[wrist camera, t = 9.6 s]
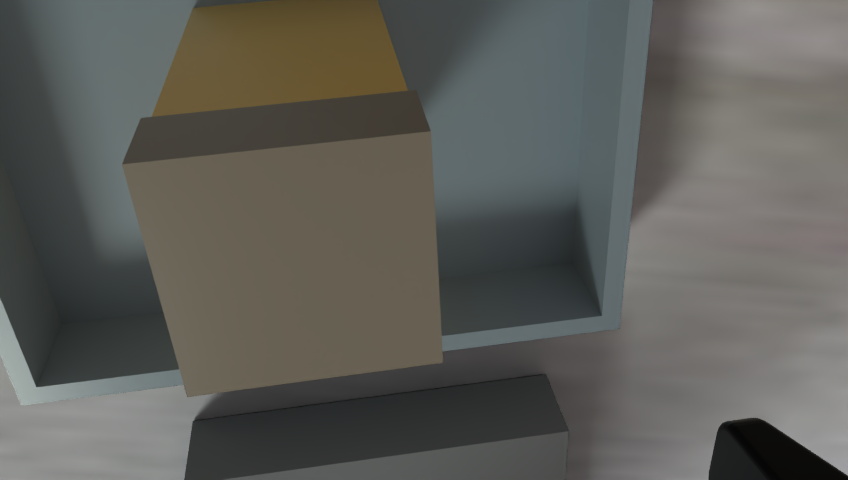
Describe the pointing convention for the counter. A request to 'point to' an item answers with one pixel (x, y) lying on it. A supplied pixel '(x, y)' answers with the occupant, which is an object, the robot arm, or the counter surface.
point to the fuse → (289, 198)
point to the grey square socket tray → (393, 438)
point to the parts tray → (452, 172)
